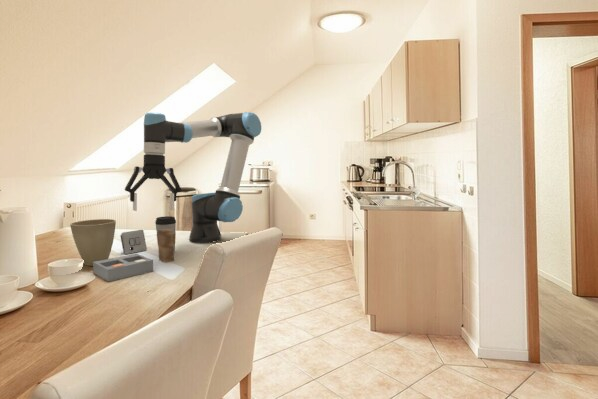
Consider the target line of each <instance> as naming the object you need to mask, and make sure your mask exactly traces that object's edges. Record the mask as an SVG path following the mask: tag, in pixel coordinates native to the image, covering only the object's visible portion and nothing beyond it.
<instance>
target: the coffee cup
mask: <svg viewBox="0 0 598 399" xmlns="http://www.w3.org/2000/svg"><path fill="white" fill-rule="evenodd" d="M154 223H155V230H156V240H157V242H156V243H157V249H158V250H159V243H158V230H163V229H170V230H173V248H174V252H175V251H176V250H175V249H176V234H177V232H176V225H177V220H176V217H175V216H170V215H169V216H167V215H166V216H159V217H156V218H155V222H154Z"/></svg>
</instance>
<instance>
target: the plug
mask: <svg viewBox="0 0 598 399" xmlns="http://www.w3.org/2000/svg"><path fill="white" fill-rule="evenodd" d="M158 243H159V249H158V258H159V259H158V261H159V262H162V263H168V262H169V263H170V262H173V261H175V257H174V256H175V255H174V254H175V251H174V248H173V230H170V229H163V230H158V242H157V244H158Z"/></svg>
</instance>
